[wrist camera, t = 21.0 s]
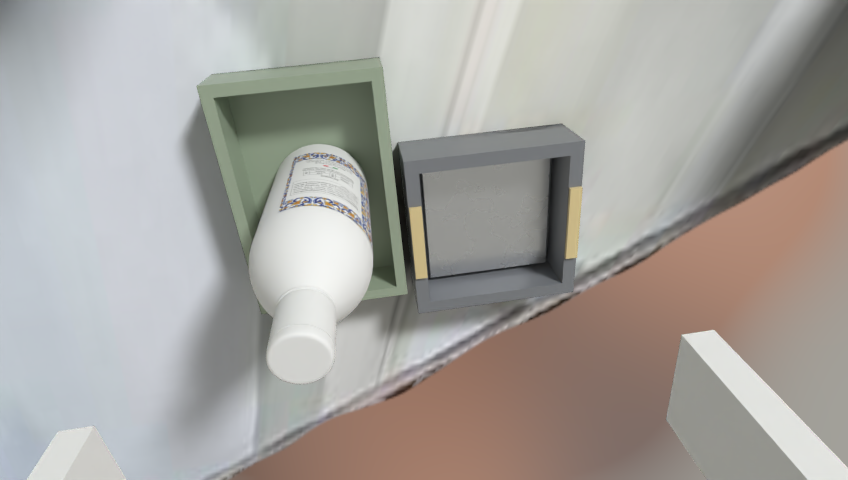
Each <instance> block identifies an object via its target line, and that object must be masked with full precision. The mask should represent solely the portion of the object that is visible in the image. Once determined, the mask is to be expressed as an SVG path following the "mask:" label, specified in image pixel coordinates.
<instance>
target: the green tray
mask: <svg viewBox="0 0 848 480" xmlns="http://www.w3.org/2000/svg"><path fill="white" fill-rule="evenodd" d="M197 90H198V93H199V97H200V100H201V104H202V107H203V111H204V114H205V118H206V121H207V125H208V128H209V132H210V135H211V139H212V142H213V146H214V149H215V153H216V156H217V160H218V163H219V167H220V170H221V174H222V177H223V181H224V184H225V188H226V191H227V195H228V198H229V202H230V205H231V209H232V212H233V216H234V219H235V223H236V226H237V230H238V233H239V237H240V240H241V244H242V247H243V251H244V255H245V258H246V262H247V265H248V269H249V253H250V247H251V243H252V240H253V237H254V234H255V231H256V229H257V226H258V223H259V220H260V217H261V214H262V212H263V209H264V206H265V203H266V200H267V198H268V195H269V192H270V189H271V186H272V183H273V182H274V179H275V176H276V173H277V171H278V169H279V167H280V165H281V163H282V162H283V161H284V159H285V158H286V157H287V156H288V155H290V154H291V153H292V152H294V151H295V150H297V149H299V148H301V147H304V146H308V145H313V144H326V145H331V146H335V147H338V148H340V149H342V150H344V151H346V152H347V153H348V154H350V155H351V156H352V157H353V158H354V159H355V160H356V161H357V162H358V163H359V165H360V166H361V168H362V169H363V171H364V174H365V177H366V181H367V187H368V196H369V208H370V220H371V232H372V244H373V256H374V263H373V271H372V276H371V280H370V283H369V286H368V289H367V291H366V293H365V295H364V297H363V299H362V300H368V299H375V298H383V297H390V296H397V295H404V294H408V292H407V283H406V274H405V265H404V256H403V247H402V238H401V229H400V220H399V211H398V202H397V193H396V184H395V175H394V166H393V157H392V148H391V139H390V130H389V121H388V112H387V103H386V94H385V85H384V76H383V67H382V64H381V61H380V58H379V57H378V58H368V59H358V60H348V61H339V62H329V63H319V64H309V65H299V66H289V67H279V68H269V69H259V70H249V71H239V72H230V73H220V74H211V75H210V76H209V77H208V78H206V79H205V80H204V81H202V82H201V83H200V84H199V85H197ZM257 300H258V299H257ZM258 304H259V307H260V311H261V314H267V312H266V310H265V309H264V308H263V307H262V305H261V304H260V302H259V301H258Z"/></svg>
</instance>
